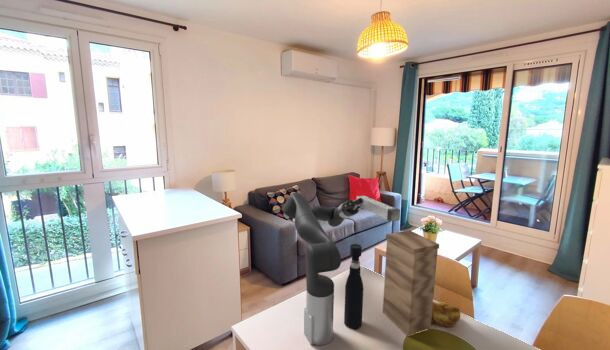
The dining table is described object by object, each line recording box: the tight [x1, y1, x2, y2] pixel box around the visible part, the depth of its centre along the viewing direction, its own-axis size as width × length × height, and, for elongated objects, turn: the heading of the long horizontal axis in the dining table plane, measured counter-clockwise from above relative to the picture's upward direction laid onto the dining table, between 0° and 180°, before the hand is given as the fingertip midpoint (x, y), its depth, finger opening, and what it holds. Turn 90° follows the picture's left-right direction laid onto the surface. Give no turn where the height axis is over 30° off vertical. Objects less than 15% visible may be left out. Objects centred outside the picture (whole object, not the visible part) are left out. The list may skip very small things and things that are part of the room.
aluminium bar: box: [355, 195, 401, 222], centre depth 119 cm, size 4×24×4 cm, turn 22°
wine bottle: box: [343, 243, 364, 330], centre depth 102 cm, size 6×6×30 cm
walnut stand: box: [382, 229, 440, 337], centre depth 103 cm, size 11×14×32 cm
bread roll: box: [431, 300, 461, 328], centre depth 105 cm, size 13×10×8 cm
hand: (366, 199), depth 125 cm, fingers closed on aluminium bar, 4 cm apart
